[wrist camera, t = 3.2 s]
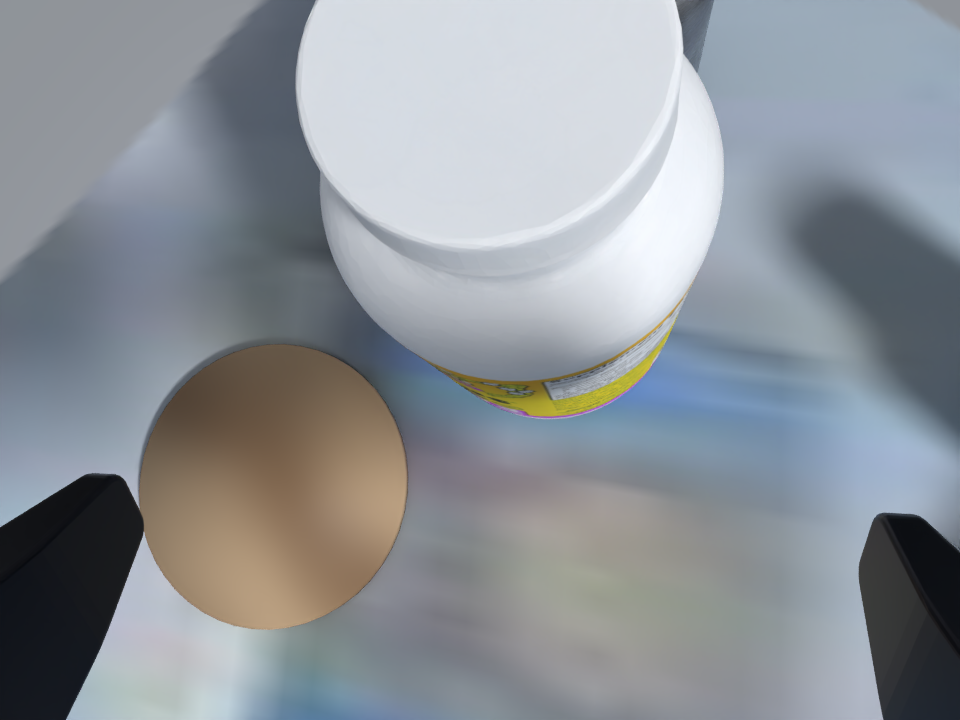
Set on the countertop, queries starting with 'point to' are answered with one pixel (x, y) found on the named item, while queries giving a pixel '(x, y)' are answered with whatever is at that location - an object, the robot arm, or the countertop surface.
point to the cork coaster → (273, 486)
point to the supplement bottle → (514, 184)
